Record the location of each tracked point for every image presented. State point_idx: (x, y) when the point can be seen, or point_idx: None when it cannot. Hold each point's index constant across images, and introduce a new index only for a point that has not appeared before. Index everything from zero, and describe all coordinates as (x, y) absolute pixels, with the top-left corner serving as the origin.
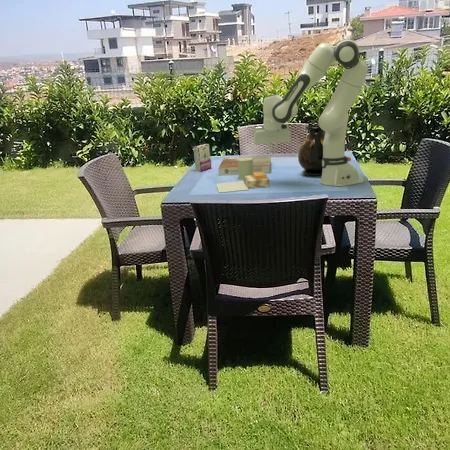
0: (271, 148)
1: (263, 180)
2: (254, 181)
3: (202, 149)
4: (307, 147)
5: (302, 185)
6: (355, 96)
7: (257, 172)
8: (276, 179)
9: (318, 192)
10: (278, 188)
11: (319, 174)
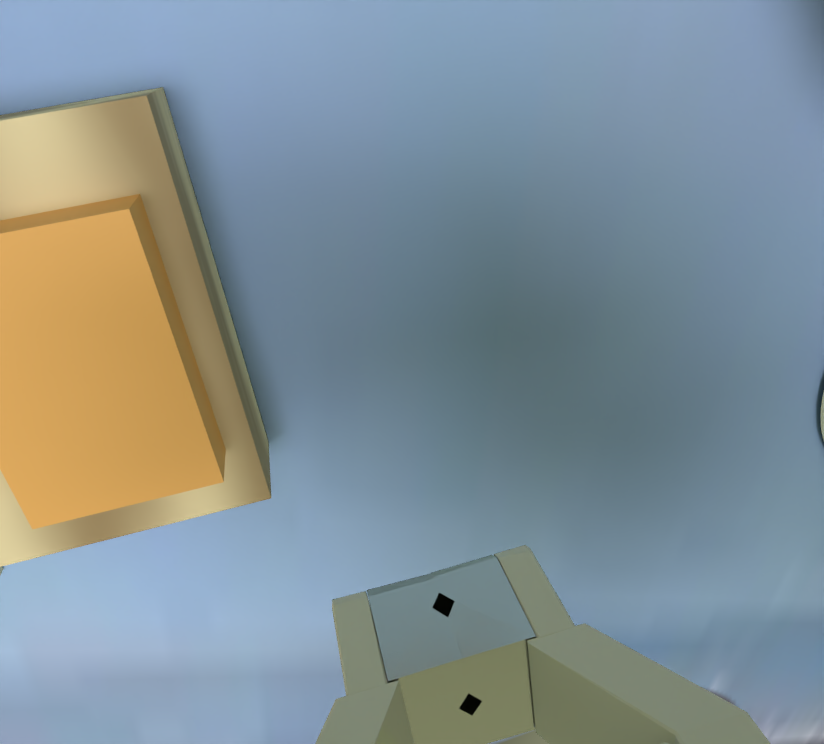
0: (427, 720)
1: (182, 514)
2: (44, 549)
3: None
4: None
5: (638, 432)
6: None
7: (2, 264)
8: (368, 33)
9: (689, 644)
10: (373, 521)
11: None
